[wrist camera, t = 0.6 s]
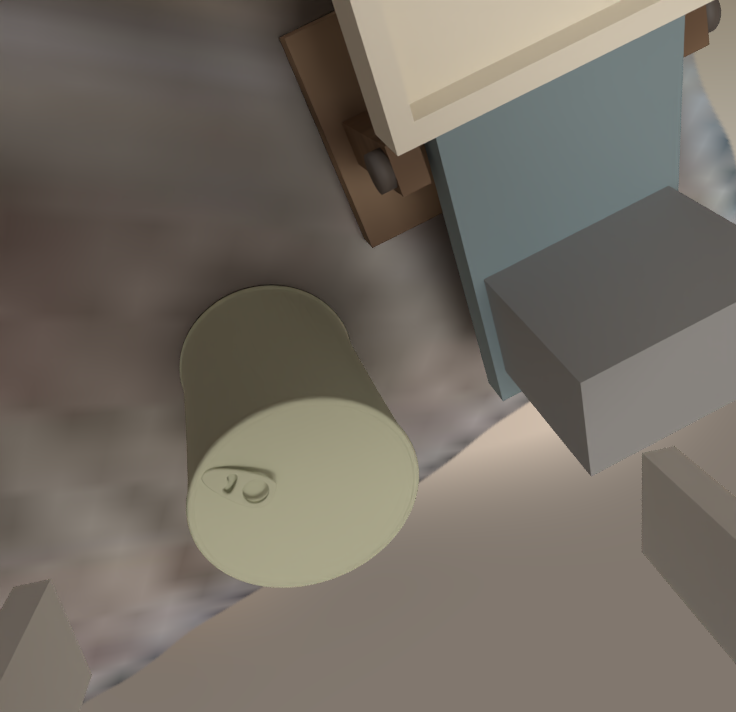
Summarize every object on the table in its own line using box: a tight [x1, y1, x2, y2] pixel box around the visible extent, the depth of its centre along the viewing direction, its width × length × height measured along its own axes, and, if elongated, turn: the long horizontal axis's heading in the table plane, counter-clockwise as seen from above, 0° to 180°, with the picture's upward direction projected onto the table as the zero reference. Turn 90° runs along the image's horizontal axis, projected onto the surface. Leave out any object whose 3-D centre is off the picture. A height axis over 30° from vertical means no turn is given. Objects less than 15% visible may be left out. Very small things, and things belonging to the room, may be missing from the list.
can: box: [179, 285, 419, 588], centre depth 29 cm, size 9×9×12 cm
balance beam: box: [332, 0, 736, 476], centre depth 20 cm, size 30×14×8 cm, turn 22°
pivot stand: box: [279, 0, 721, 248], centre depth 27 cm, size 10×15×8 cm, turn 112°
